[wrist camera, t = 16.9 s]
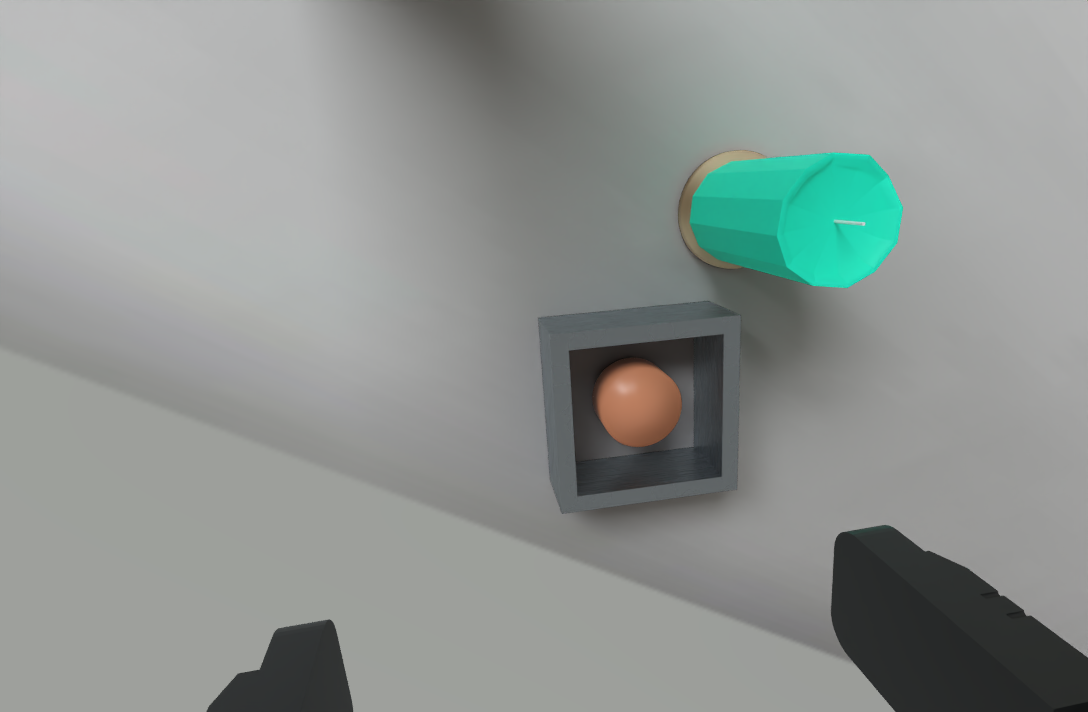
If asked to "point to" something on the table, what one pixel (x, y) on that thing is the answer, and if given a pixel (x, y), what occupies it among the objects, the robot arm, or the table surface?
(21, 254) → the table surface
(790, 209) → the candle
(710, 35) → the table surface
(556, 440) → the gray open box
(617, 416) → the orange egg shape
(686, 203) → the coaster
